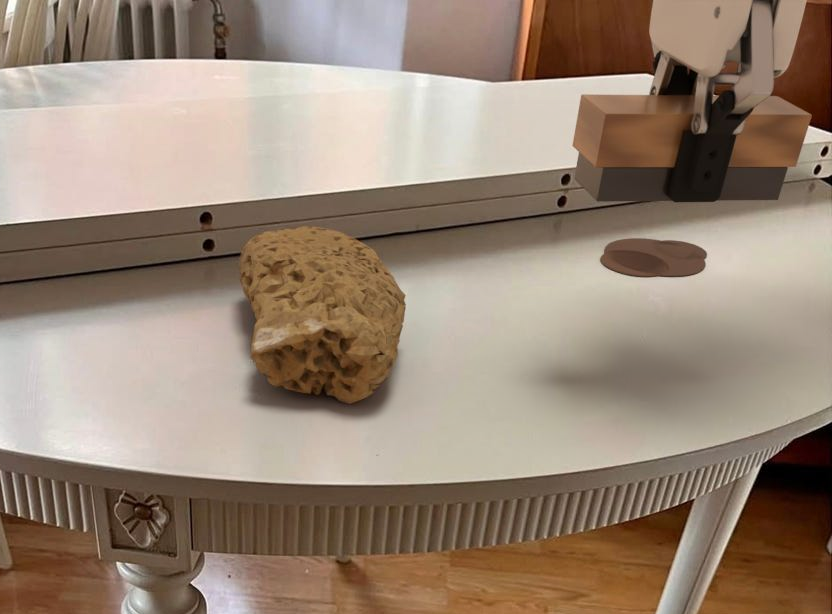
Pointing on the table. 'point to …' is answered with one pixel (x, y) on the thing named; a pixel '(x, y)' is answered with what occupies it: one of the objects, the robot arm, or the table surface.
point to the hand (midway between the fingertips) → (676, 183)
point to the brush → (659, 143)
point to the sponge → (321, 311)
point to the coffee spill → (653, 257)
